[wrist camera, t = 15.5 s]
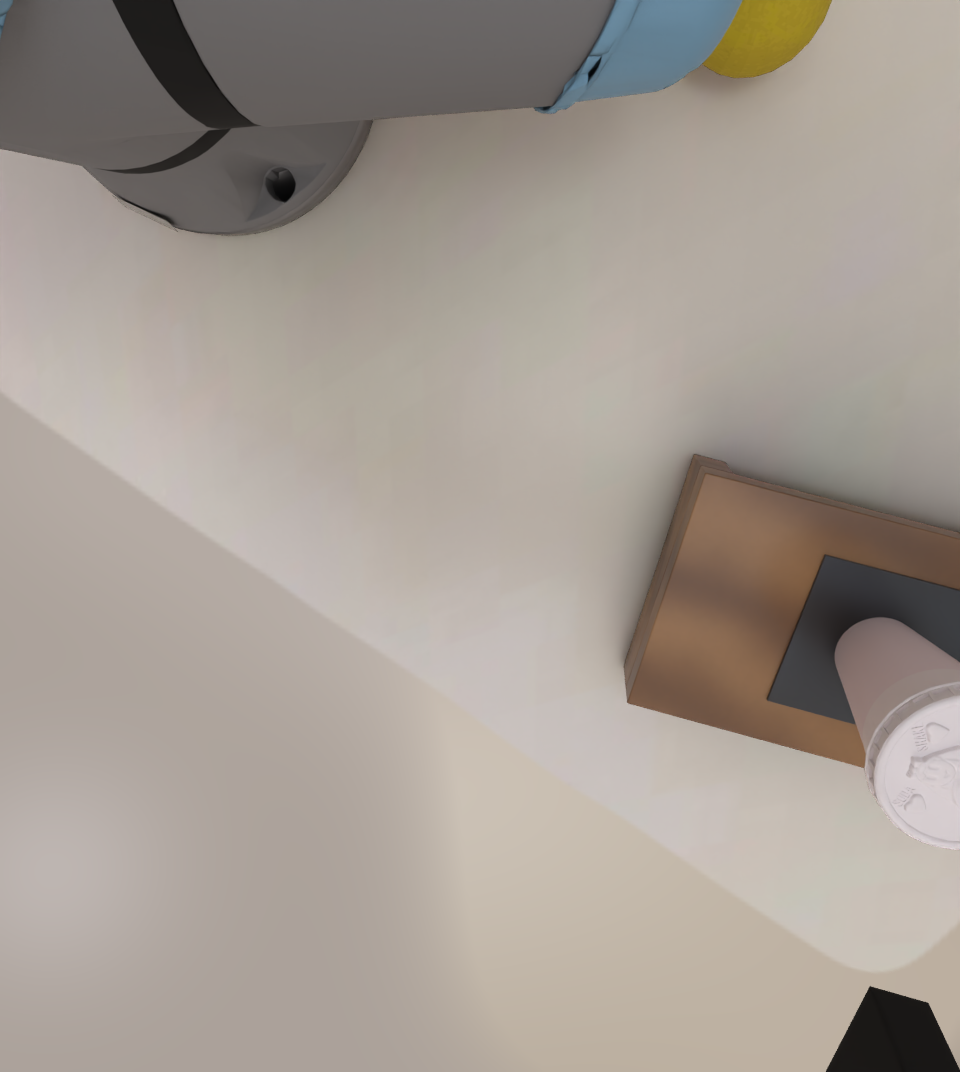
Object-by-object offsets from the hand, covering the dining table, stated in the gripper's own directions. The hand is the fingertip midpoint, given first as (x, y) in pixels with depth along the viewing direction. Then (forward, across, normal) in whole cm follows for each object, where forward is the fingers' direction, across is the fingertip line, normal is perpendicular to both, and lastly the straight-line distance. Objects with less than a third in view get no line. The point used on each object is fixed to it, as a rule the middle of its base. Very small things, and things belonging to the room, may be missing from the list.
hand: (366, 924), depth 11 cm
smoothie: (+28, +18, -4) cm, 33 cm away
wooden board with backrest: (+32, +17, -4) cm, 36 cm away
